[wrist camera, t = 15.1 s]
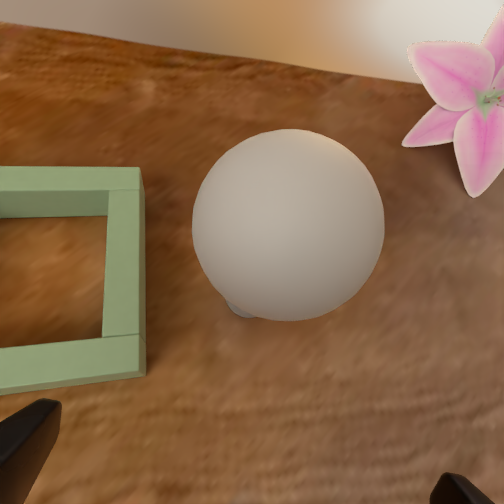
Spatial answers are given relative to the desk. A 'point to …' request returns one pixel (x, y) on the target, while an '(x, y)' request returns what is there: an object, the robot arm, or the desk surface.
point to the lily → (464, 103)
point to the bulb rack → (116, 274)
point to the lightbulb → (288, 225)
